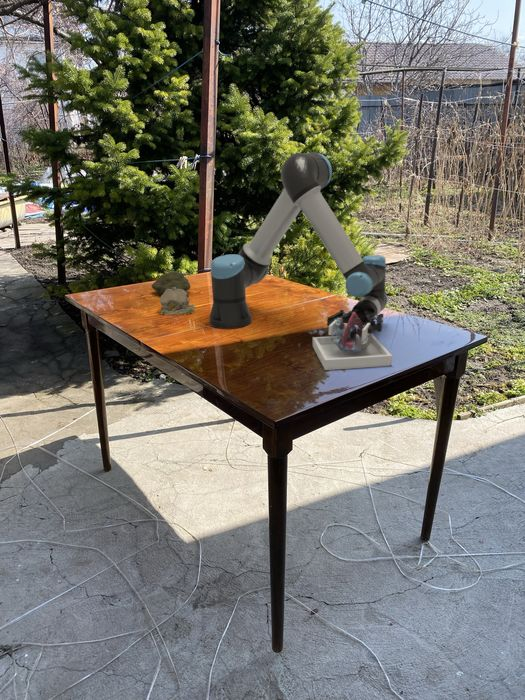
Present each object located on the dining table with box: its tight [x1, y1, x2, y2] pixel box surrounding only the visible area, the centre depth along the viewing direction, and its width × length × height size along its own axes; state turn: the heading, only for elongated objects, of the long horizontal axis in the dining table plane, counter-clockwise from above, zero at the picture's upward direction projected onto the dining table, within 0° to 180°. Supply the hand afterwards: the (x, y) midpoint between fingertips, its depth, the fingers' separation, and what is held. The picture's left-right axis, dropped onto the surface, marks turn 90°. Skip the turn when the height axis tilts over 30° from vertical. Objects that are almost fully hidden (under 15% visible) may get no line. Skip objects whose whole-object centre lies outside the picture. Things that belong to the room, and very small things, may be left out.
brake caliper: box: [331, 312, 370, 353], centre depth 155 cm, size 11×11×12 cm
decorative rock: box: [151, 270, 191, 294], centre depth 229 cm, size 15×16×10 cm
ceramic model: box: [159, 287, 196, 315], centre depth 203 cm, size 14×11×10 cm
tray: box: [312, 333, 393, 371], centre depth 156 cm, size 19×19×3 cm
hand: (346, 332), depth 149 cm, fingers open, 9 cm apart
